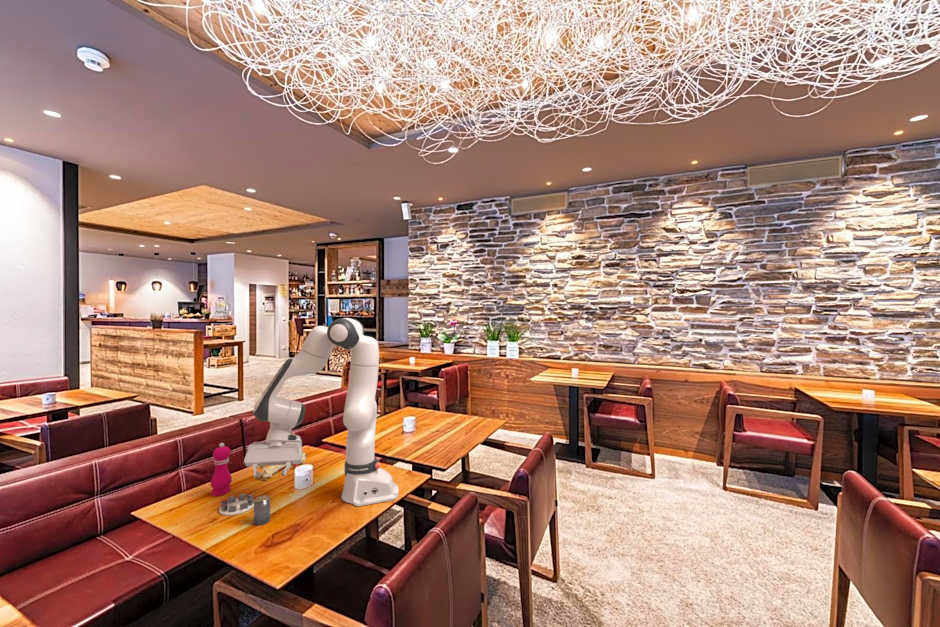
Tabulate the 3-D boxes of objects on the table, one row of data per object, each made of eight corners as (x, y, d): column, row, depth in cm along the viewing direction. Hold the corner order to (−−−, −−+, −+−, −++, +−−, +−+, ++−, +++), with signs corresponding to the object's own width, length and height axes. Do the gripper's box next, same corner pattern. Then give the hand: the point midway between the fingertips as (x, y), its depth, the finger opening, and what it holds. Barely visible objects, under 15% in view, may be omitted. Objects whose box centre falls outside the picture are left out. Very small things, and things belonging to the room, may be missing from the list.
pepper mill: (221, 497, 151) (221, 446, 151) (205, 495, 152) (206, 445, 152) (236, 489, 158) (236, 440, 158) (221, 487, 159) (221, 439, 159)
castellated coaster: (259, 498, 150) (259, 491, 150) (248, 513, 139) (249, 506, 139) (226, 501, 148) (227, 494, 148) (213, 516, 137) (213, 509, 137)
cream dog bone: (269, 485, 165) (312, 460, 188) (268, 465, 164) (311, 442, 188) (252, 481, 169) (297, 456, 192) (251, 462, 168) (296, 440, 191)
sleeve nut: (271, 517, 137) (272, 494, 137) (267, 524, 132) (267, 501, 132) (256, 518, 136) (256, 495, 136) (251, 526, 131) (251, 502, 131)
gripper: (247, 438, 148) (236, 474, 139) (303, 436, 152) (297, 470, 143) (251, 446, 153) (241, 481, 143) (306, 443, 157) (299, 477, 147)
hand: (269, 476), depth 143 cm, fingers open, 8 cm apart
